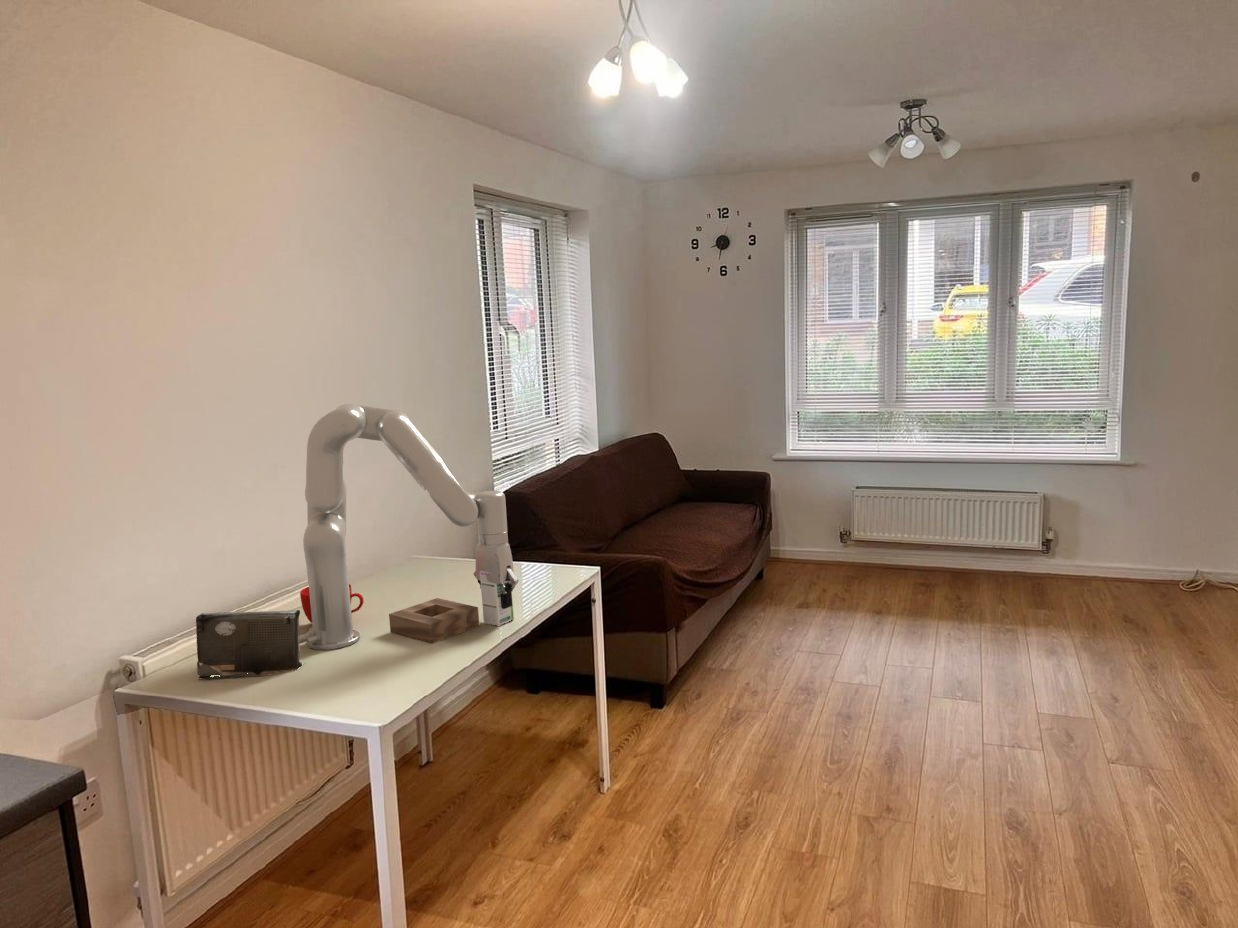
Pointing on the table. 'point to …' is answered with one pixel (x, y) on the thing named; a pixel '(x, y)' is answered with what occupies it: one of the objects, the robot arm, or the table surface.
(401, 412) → the robot arm
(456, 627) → the socket block
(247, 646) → the radio
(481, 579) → the syrup box
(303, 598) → the ceramic cup
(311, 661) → the table surface
